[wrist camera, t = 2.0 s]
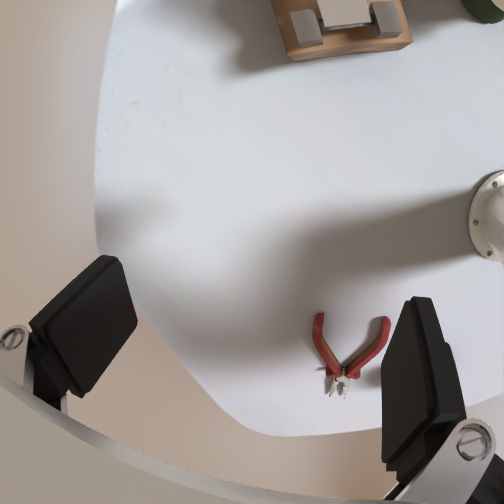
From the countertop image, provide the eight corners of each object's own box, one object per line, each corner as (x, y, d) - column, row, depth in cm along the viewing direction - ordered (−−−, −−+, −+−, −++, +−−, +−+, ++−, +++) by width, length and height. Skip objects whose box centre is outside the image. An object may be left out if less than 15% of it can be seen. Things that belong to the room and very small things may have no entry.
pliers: (307, 389, 55) (305, 400, 53) (314, 308, 45) (312, 320, 42) (367, 393, 52) (367, 404, 50) (392, 313, 42) (394, 325, 39)
